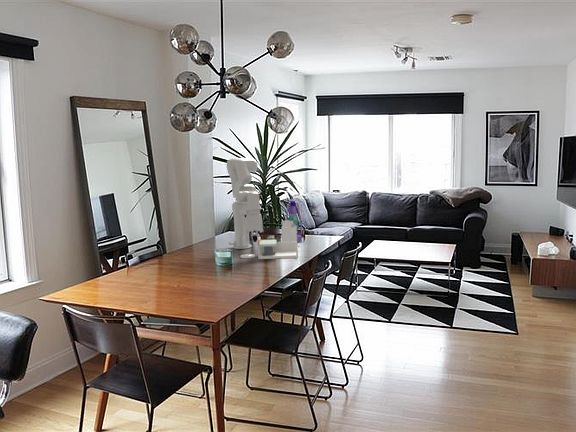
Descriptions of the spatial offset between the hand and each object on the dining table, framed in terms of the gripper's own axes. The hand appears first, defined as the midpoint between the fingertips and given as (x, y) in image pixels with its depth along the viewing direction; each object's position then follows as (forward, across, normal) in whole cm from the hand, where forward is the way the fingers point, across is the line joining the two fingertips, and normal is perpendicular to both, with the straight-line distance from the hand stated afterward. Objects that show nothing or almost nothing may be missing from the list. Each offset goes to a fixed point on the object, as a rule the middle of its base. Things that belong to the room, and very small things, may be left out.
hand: (255, 241), depth 351 cm
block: (+10, +8, 0) cm, 12 cm away
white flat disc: (+10, -5, 0) cm, 11 cm away
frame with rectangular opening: (+10, +14, 0) cm, 17 cm away
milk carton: (+10, +21, +20) cm, 30 cm away
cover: (+2, +8, 0) cm, 8 cm away
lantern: (+10, +24, +48) cm, 54 cm away
